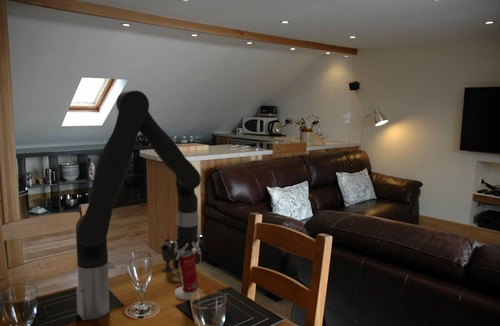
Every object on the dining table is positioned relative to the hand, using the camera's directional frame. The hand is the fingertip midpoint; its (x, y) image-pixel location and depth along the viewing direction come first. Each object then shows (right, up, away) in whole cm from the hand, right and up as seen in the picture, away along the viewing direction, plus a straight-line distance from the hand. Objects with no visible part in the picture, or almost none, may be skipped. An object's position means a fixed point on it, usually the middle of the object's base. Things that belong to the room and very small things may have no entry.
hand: (186, 266), depth 143 cm
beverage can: (+1, -9, +2) cm, 10 cm away
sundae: (-12, -8, +22) cm, 26 cm away
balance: (-5, -9, +14) cm, 17 cm away
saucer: (0, -11, +2) cm, 11 cm away
